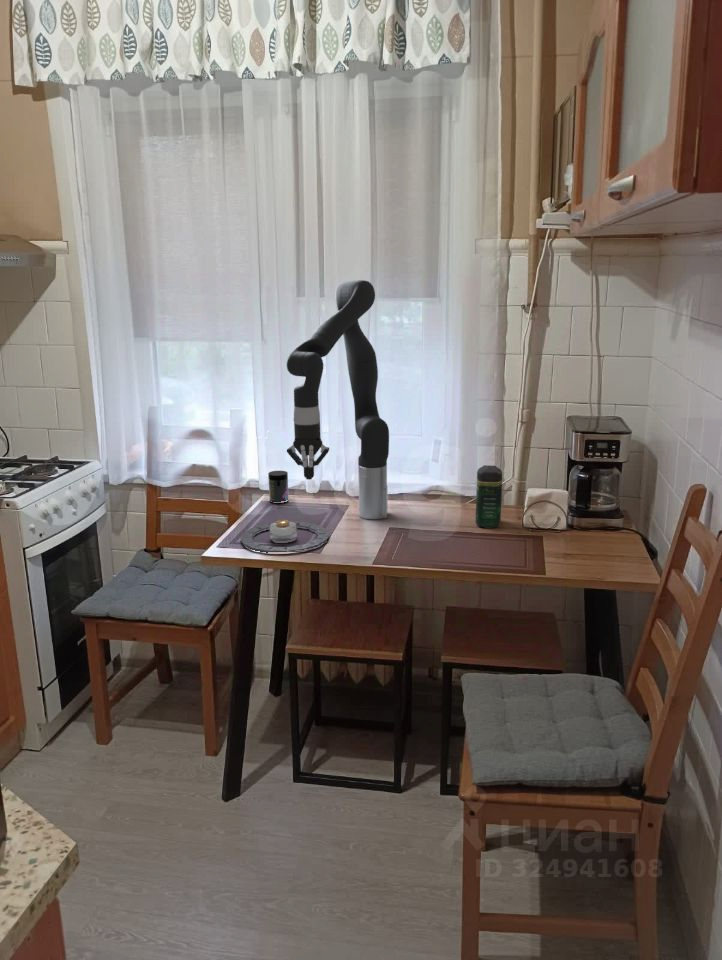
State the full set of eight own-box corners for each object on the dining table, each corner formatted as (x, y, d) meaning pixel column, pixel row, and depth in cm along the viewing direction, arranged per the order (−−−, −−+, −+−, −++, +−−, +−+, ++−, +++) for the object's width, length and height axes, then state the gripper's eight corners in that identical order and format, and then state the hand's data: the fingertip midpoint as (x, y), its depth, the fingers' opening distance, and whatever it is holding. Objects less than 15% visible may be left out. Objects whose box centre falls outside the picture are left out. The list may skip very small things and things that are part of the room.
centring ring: (332, 525, 250) (332, 522, 250) (321, 555, 226) (321, 551, 225) (252, 524, 253) (252, 521, 252) (232, 553, 228) (232, 550, 227)
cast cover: (298, 535, 243) (297, 517, 241) (294, 544, 235) (294, 526, 234) (272, 534, 243) (271, 517, 242) (268, 543, 236) (267, 525, 234)
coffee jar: (501, 529, 245) (503, 471, 240) (475, 528, 246) (477, 471, 241) (500, 519, 254) (502, 463, 249) (475, 518, 255) (476, 463, 250)
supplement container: (281, 505, 272) (280, 476, 269) (265, 503, 275) (264, 474, 272) (292, 500, 278) (291, 471, 275) (276, 497, 281) (275, 469, 278)
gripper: (331, 418, 232) (332, 475, 236) (286, 418, 233) (289, 475, 237) (328, 423, 224) (329, 482, 229) (282, 423, 225) (284, 482, 230)
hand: (309, 478), depth 233 cm, fingers closed
